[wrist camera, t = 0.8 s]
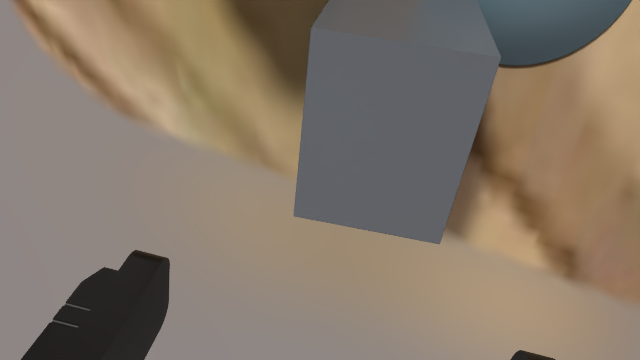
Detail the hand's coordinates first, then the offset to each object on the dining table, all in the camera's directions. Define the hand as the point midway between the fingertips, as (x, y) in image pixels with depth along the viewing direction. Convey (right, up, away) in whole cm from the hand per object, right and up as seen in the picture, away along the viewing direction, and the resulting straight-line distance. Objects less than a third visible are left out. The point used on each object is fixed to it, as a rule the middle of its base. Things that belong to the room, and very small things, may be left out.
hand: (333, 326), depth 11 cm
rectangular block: (+4, +9, +16) cm, 19 cm away
